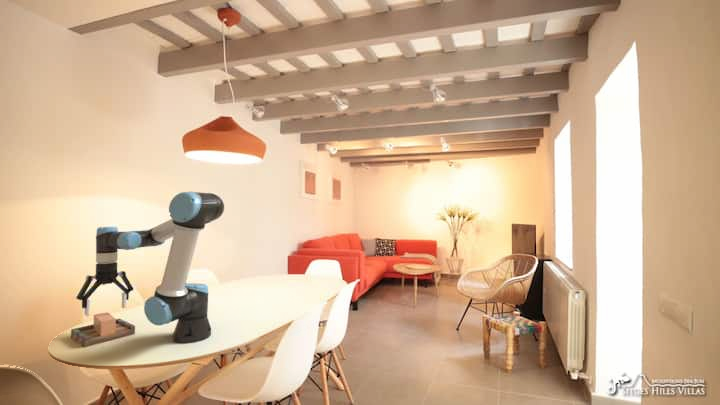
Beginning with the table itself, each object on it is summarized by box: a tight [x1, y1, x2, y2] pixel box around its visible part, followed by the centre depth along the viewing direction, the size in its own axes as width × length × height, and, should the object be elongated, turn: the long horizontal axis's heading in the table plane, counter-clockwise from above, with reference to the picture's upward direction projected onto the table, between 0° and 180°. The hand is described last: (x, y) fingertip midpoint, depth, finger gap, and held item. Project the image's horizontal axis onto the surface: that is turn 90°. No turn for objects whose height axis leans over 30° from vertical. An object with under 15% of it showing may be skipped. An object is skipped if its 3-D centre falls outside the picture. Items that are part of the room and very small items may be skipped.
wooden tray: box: [70, 318, 136, 348], centre depth 148 cm, size 16×18×4 cm
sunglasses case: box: [93, 311, 117, 336], centre depth 147 cm, size 13×5×6 cm, turn 49°
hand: (106, 311), depth 147 cm, fingers open, 13 cm apart
